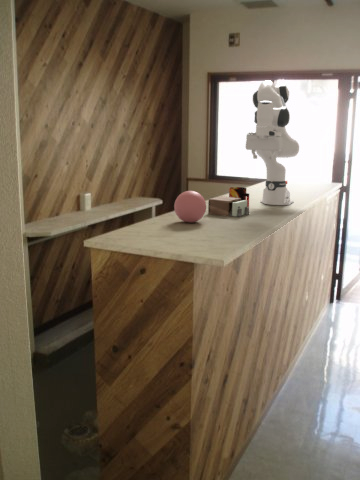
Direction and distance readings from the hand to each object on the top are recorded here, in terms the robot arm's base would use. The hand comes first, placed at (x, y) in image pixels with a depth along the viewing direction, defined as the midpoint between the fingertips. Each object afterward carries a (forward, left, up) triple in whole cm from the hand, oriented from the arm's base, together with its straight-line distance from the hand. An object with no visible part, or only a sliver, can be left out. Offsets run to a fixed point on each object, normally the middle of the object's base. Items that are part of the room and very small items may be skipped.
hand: (263, 158), depth 262 cm
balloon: (+46, -14, -29) cm, 56 cm away
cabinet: (+15, -11, -29) cm, 34 cm away
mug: (-2, -14, -29) cm, 33 cm away
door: (+15, -5, -29) cm, 33 cm away
